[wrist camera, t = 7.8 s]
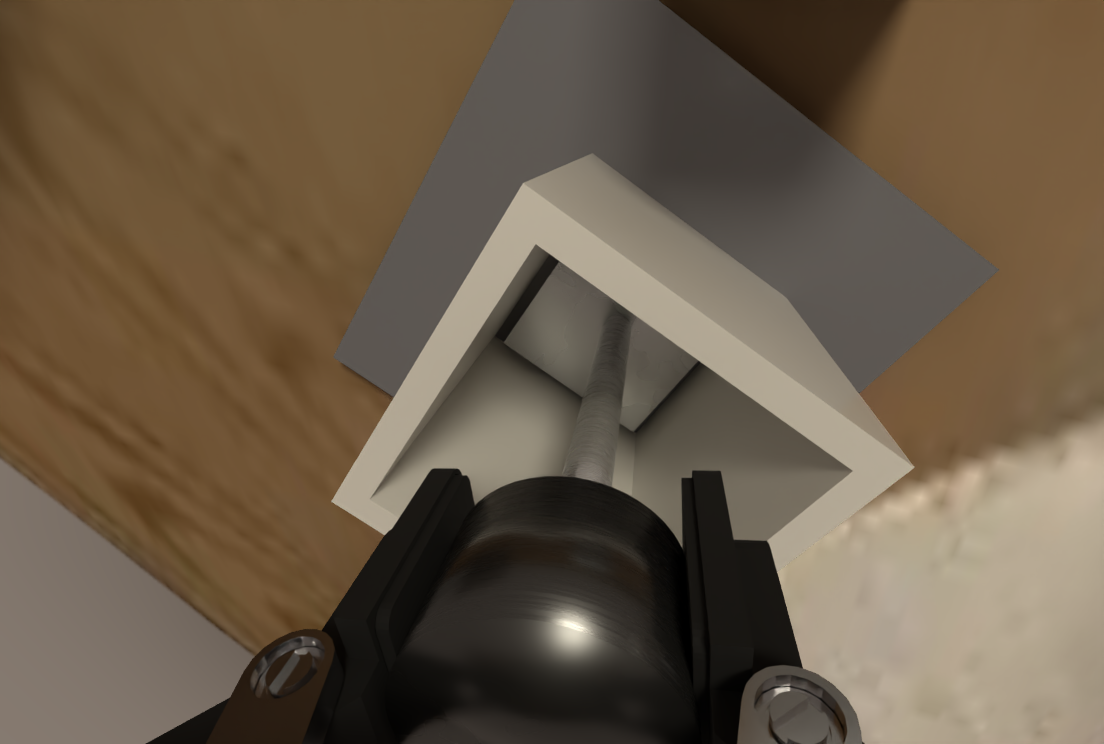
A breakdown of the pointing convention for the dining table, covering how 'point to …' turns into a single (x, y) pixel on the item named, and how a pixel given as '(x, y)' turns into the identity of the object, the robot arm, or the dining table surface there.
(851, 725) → the robot arm
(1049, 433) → the dining table surface
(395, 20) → the dining table surface
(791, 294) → the grey square base
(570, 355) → the plunger
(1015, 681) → the dining table surface
